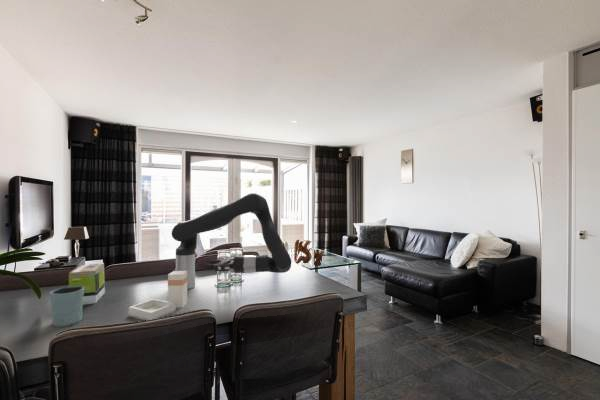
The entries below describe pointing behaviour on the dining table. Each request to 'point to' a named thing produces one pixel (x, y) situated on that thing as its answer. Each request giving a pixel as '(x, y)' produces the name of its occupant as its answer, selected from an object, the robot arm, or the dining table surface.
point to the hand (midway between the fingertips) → (207, 264)
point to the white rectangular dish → (151, 309)
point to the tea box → (89, 281)
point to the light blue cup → (67, 305)
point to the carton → (177, 288)
